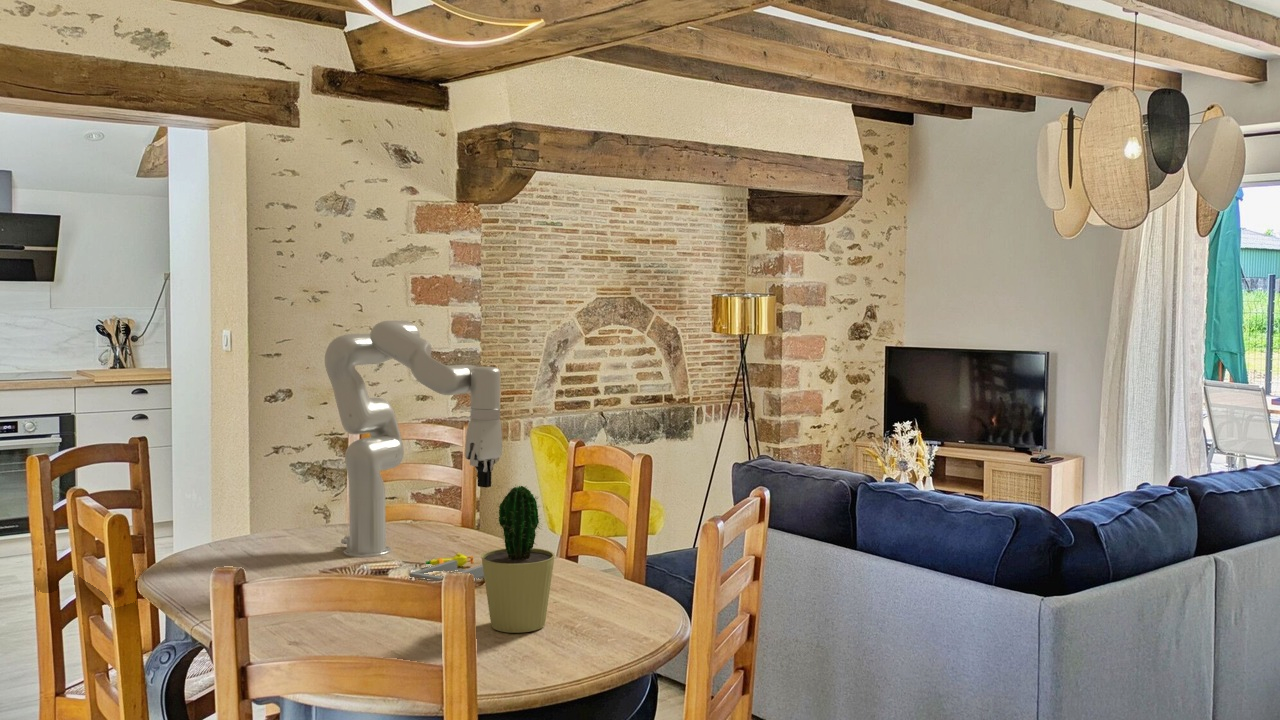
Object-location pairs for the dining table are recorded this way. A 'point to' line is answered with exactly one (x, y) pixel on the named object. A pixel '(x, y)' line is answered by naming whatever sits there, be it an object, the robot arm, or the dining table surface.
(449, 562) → the u rest
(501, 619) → the potted cactus
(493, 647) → the dining table surface
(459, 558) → the toy figure
